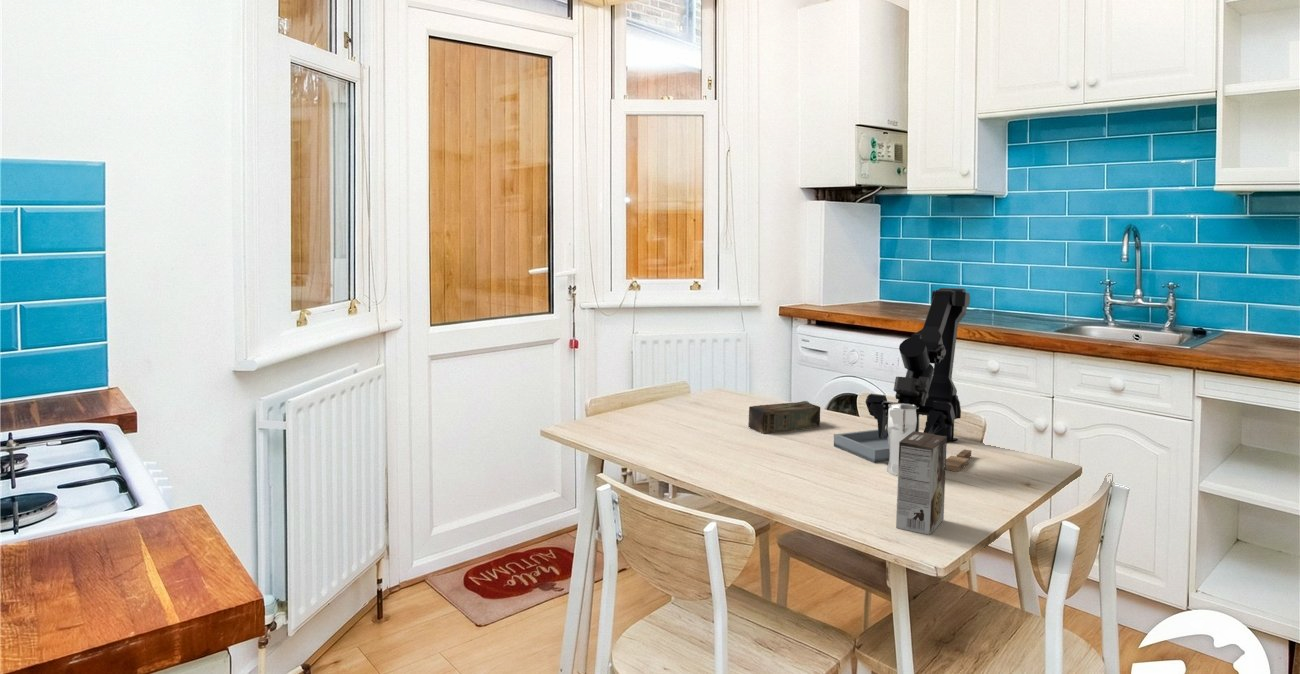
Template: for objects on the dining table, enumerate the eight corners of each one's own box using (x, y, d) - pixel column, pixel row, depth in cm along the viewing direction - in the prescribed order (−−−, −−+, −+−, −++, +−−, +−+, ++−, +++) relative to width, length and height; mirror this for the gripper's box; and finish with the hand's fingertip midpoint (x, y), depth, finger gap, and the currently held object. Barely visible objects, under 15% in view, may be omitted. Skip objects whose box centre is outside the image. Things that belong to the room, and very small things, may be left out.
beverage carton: (821, 427, 218) (822, 404, 217) (762, 435, 210) (762, 410, 209) (804, 421, 225) (804, 398, 224) (746, 428, 217) (746, 405, 216)
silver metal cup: (919, 477, 172) (922, 410, 170) (886, 475, 173) (888, 408, 171) (915, 468, 179) (918, 403, 177) (883, 466, 180) (885, 402, 178)
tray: (885, 439, 204) (886, 428, 203) (929, 455, 189) (929, 443, 189) (833, 446, 198) (834, 434, 197) (874, 463, 183) (874, 450, 183)
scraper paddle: (959, 455, 190) (959, 448, 189) (976, 457, 187) (976, 451, 187) (939, 468, 179) (940, 461, 178) (958, 471, 176) (958, 464, 176)
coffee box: (909, 513, 150) (912, 430, 148) (944, 520, 146) (948, 435, 144) (894, 528, 143) (897, 440, 141) (930, 535, 139) (934, 446, 137)
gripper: (869, 358, 182) (851, 415, 174) (954, 366, 171) (938, 426, 164) (879, 387, 189) (862, 442, 181) (961, 396, 179) (946, 454, 171)
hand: (900, 440), depth 174 cm, fingers open, 9 cm apart
